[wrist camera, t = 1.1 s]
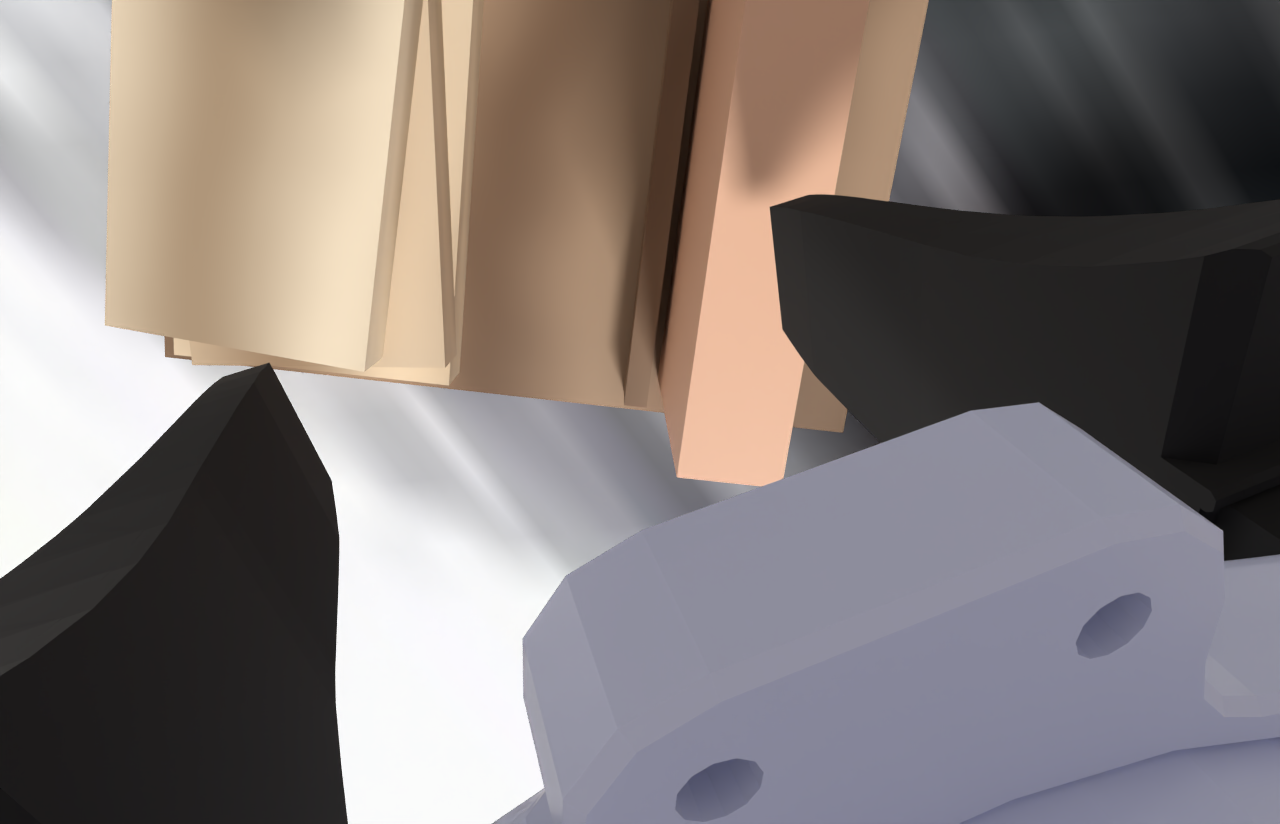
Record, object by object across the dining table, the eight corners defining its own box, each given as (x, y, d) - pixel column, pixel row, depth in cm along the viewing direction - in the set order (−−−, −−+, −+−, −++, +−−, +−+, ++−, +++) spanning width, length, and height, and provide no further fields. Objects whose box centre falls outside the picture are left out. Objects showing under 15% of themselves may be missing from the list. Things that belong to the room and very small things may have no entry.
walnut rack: (920, -17, 22) (957, -40, 19) (834, 422, 25) (857, 449, 23) (171, -125, 21) (112, -165, 18) (183, 349, 24) (134, 369, 21)
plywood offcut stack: (494, -66, 20) (460, -132, 16) (464, 373, 23) (429, 418, 19) (193, -110, 20) (74, -189, 15) (201, 343, 23) (105, 383, 18)
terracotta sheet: (788, -2, 21) (888, -104, 13) (728, 385, 23) (781, 488, 16) (709, -13, 21) (763, -123, 13) (657, 377, 23) (677, 476, 16)
